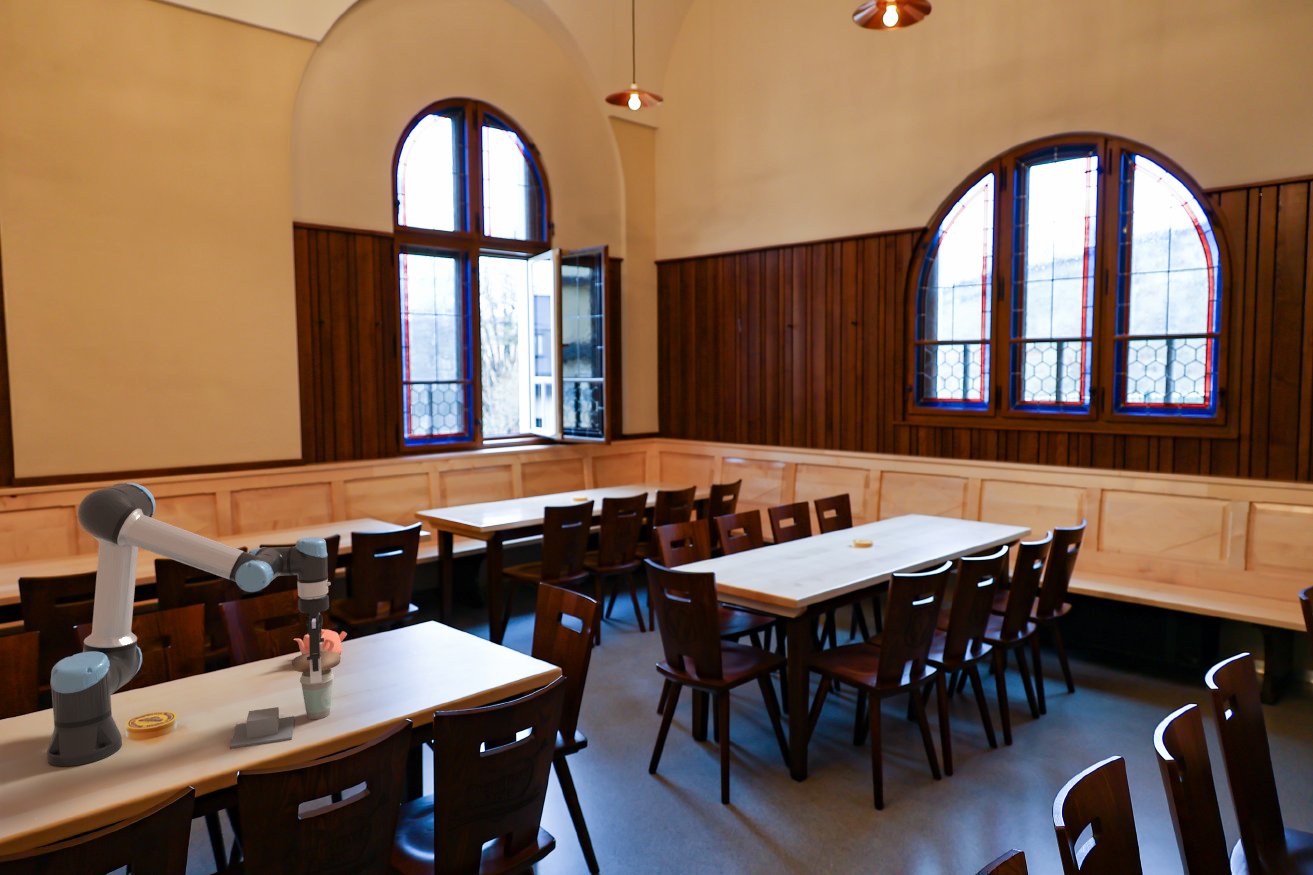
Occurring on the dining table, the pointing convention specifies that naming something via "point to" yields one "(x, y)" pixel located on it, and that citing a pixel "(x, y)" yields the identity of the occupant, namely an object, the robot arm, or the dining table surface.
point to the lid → (327, 661)
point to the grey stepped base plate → (262, 728)
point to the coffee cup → (317, 694)
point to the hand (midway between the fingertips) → (316, 674)
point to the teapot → (330, 642)
